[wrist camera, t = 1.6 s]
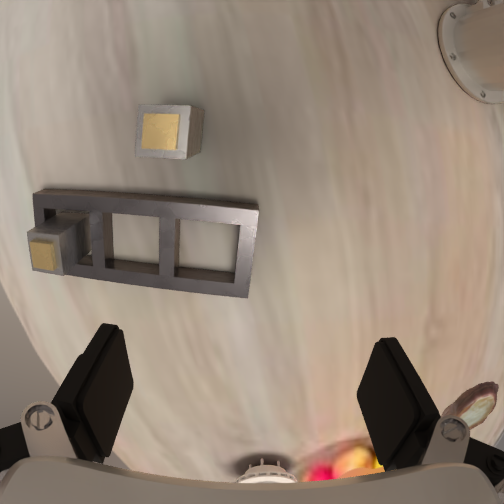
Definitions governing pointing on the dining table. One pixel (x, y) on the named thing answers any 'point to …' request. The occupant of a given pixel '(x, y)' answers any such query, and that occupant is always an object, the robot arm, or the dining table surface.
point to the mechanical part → (266, 474)
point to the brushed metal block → (168, 131)
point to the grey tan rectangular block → (60, 242)
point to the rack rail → (169, 234)
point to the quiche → (474, 404)
